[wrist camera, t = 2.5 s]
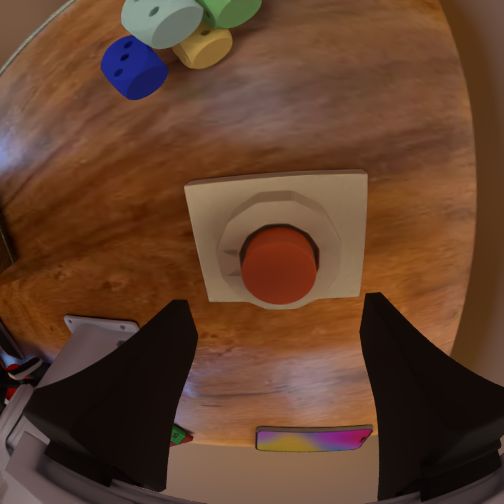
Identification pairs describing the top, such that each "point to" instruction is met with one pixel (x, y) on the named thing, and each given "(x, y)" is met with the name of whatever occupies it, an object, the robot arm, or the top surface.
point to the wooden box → (5, 248)
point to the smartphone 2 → (311, 438)
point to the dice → (171, 39)
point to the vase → (0, 363)
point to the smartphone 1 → (9, 344)
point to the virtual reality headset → (21, 377)
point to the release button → (279, 266)
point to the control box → (281, 215)
